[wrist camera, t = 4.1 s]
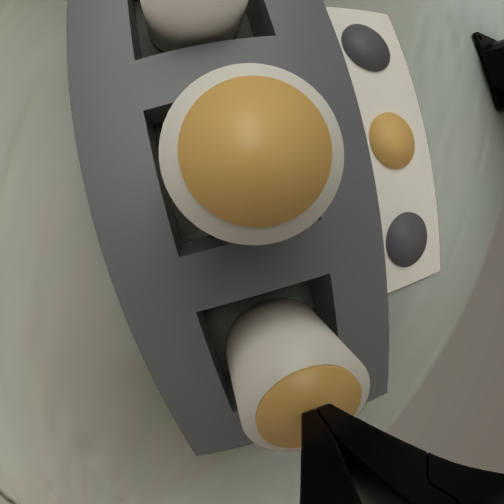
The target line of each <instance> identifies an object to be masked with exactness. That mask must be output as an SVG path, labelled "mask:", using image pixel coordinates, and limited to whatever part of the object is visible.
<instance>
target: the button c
mask: <svg viewBox="0 0 504 504" xmlns="http://www.w3.org/2000/svg"><path fill="white" fill-rule="evenodd" d="M225 353H226V358H227V363H228V367H229V372H230V377H231V381H232V386H233V390H234V395H235V399H236V403H237V408H238V412H239V416H240V420H241V424H242V428H243V430H244V432H245V434H246V436H247V437H248V438H249V439H250V440H251V441H252V442H254V443H255V444H257V445H258V446H260V447H263V448H265V449H269V450H273V451H284V452H287V451H298V450H301V414H302V413H303V412H306V411H309V410H311V409H315V410H316V408H317V407H320V406H322V405H325V404H328V403H330V404H333V405H334V406H336V407H338V408H340V409H341V410H343V411H345V412H347V413H349V414H351V415H353V416H354V417H357V416H358V415H359V413H360V412H361V410H362V409H363V407H364V405H365V403H366V401H367V398H368V395H369V391H370V377H369V374H368V371H367V369H366V367H365V366H364V365H363V363H362V362H361V361H360V360H359V359H358V358H357V357H356V356H355V355H354V354H353V353H352V352H351V351H350V350H349V349H348V347H347V346H346V345H345V344H344V343H343V342H342V341H341V340H340V339H339V338H338V337H337V336H336V335H335V334H334V333H333V332H332V331H331V329H330V328H329V327H328V326H327V325H326V324H325V323H324V322H323V321H322V320H321V319H320V318H319V317H318V316H317V315H316V314H315V313H314V312H313V310H311V309H310V308H309V307H308V306H306V305H305V304H303V303H301V302H299V301H296V300H292V299H286V298H277V299H270V300H265V301H263V302H260V303H257V304H255V305H253V306H251V307H250V308H248V309H247V310H245V311H244V312H243V313H242V314H241V315H240V316H239V317H238V318H237V319H236V320H235V322H234V323H233V324H232V326H231V328H230V330H229V332H228V334H227V338H226V342H225Z"/></svg>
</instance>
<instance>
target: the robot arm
mask: <svg viewBox="0 0 504 504" xmlns="http://www.w3.org/2000/svg"><path fill="white" fill-rule="evenodd" d="M473 38H474V40H475V43H476V45H477V48H478V50H479V53H480V56H481V59H482V61H483V64H484V67H485V70H486V73H487V76H488V80H489V83H490V86H491V90H492V93H493V97H494V101H495V105H496V108H497V110H498V111H499V112H503V113H504V39H503V40H500V41H496V40H494V39H492V38H490V37H488V36H485V35H483V34H481V33H479V32H475V33H473ZM300 504H504V474H502V473H497V472H491V471H486V470H481V469H476V468H472V467H468V466H464V465H460V464H457V463H454V462H451V461H448V460H446V459H443V458H440V457H438V456H435V455H433V454H431V453H427V452H426V451H424V450H422V449H419V448H417V447H415V446H413V445H410V444H408V443H406V442H404V441H402V440H400V439H398V438H396V437H394V436H392V435H389V434H387V433H385V432H383V431H381V430H379V429H377V428H375V427H374V426H372V425H370V424H368V423H366V422H364V421H362V420H360V419H358V418H356V417H354V416H353V415H351V414H349V413H347V412H345V411H343V410H341V409H340V408H338V407H336V406H334V405H333V404H330V403H328V404H325V405H322V406H320V407H317V408H316V410H315V409H311V410H309V411H306V412H303V413H302V414H301V484H300Z"/></svg>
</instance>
